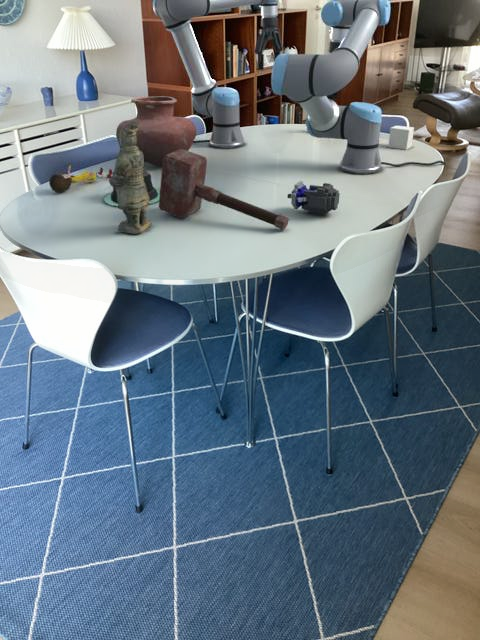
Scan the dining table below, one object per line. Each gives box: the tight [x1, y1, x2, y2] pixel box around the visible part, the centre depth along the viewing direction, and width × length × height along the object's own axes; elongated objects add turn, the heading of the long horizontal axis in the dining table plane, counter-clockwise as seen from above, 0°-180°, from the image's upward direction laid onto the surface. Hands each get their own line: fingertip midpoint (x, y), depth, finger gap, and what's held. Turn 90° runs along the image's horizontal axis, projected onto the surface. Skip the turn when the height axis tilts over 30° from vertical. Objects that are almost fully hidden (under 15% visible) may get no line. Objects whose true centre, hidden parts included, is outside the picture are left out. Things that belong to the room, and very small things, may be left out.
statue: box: [108, 121, 153, 235], centre depth 154 cm, size 11×9×30 cm
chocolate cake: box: [103, 168, 160, 207], centre depth 186 cm, size 15×19×20 cm
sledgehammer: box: [158, 149, 290, 231], centre depth 163 cm, size 17×10×40 cm
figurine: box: [48, 164, 113, 193], centre depth 199 cm, size 13×8×25 cm
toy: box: [287, 180, 341, 216], centre depth 168 cm, size 9×9×15 cm
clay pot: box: [115, 95, 197, 166], centre depth 218 cm, size 30×30×25 cm
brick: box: [388, 125, 415, 151], centre depth 238 cm, size 6×8×8 cm
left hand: (268, 68), depth 261 cm, fingers open, 13 cm apart
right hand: (331, 101), depth 215 cm, fingers open, 13 cm apart
